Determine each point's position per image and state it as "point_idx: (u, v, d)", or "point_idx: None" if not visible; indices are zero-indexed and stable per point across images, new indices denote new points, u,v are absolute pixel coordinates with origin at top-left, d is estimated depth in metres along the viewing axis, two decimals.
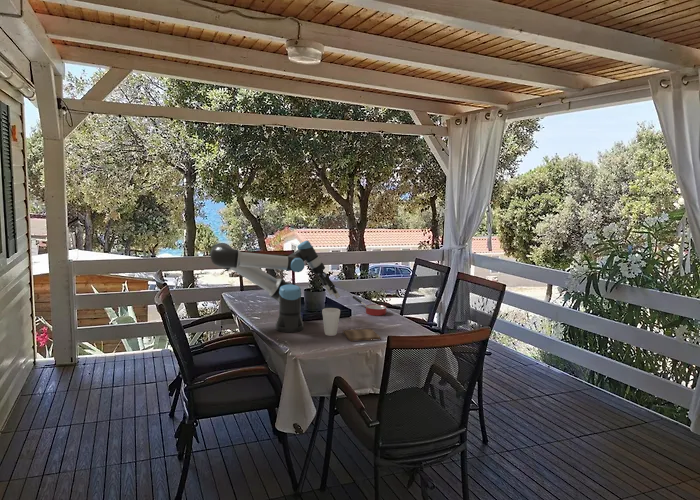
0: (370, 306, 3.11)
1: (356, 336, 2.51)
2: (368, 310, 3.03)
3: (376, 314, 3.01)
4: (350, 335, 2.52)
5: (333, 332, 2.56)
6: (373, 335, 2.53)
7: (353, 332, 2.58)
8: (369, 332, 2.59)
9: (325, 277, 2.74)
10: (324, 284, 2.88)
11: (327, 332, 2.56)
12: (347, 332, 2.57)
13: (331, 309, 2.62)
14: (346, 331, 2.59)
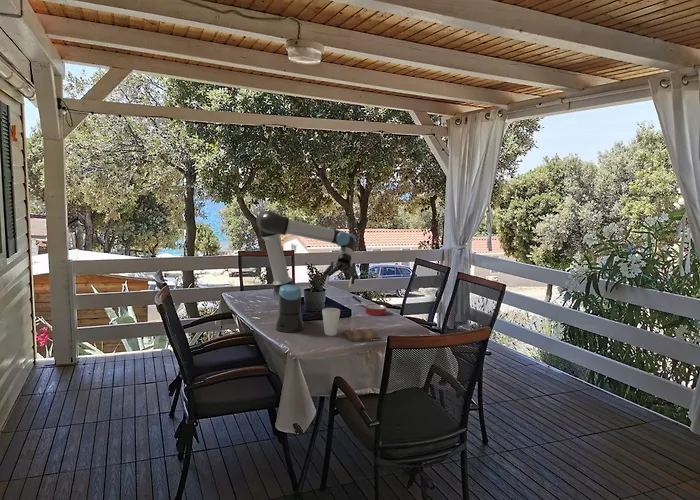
0: (370, 306, 3.12)
1: (356, 336, 2.51)
2: (368, 310, 3.03)
3: (376, 314, 3.01)
4: (350, 335, 2.52)
5: (333, 332, 2.56)
6: (373, 335, 2.53)
7: (353, 332, 2.58)
8: (369, 332, 2.59)
9: (354, 267, 2.73)
10: (328, 274, 2.72)
11: (327, 332, 2.56)
12: (347, 332, 2.57)
13: (331, 309, 2.62)
14: (346, 331, 2.59)
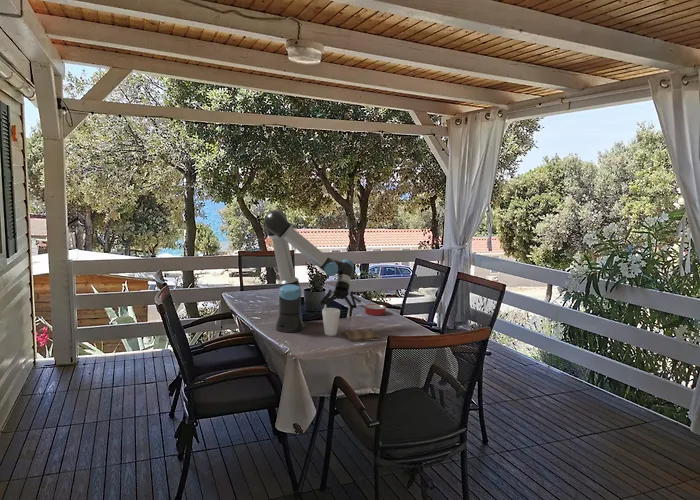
0: (369, 306, 3.12)
1: (356, 336, 2.51)
2: (368, 310, 3.03)
3: (375, 314, 3.01)
4: (350, 335, 2.52)
5: (333, 332, 2.56)
6: (373, 335, 2.53)
7: (353, 332, 2.58)
8: (369, 332, 2.59)
9: None
10: (326, 303, 2.66)
11: (327, 332, 2.56)
12: (347, 332, 2.57)
13: (331, 309, 2.62)
14: (346, 331, 2.59)
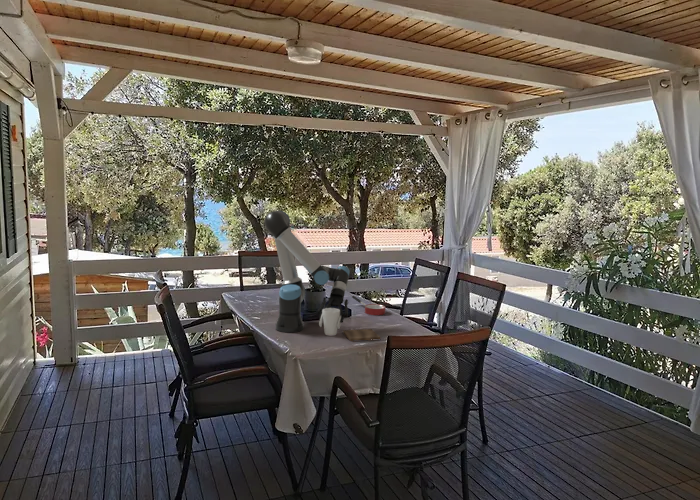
0: (369, 306, 3.12)
1: (356, 336, 2.51)
2: (367, 310, 3.04)
3: (375, 314, 3.02)
4: (350, 335, 2.52)
5: (333, 332, 2.56)
6: (373, 335, 2.53)
7: (353, 332, 2.58)
8: (369, 332, 2.59)
9: (347, 304, 2.62)
10: None
11: (327, 332, 2.56)
12: (347, 332, 2.57)
13: (331, 309, 2.62)
14: (346, 331, 2.59)
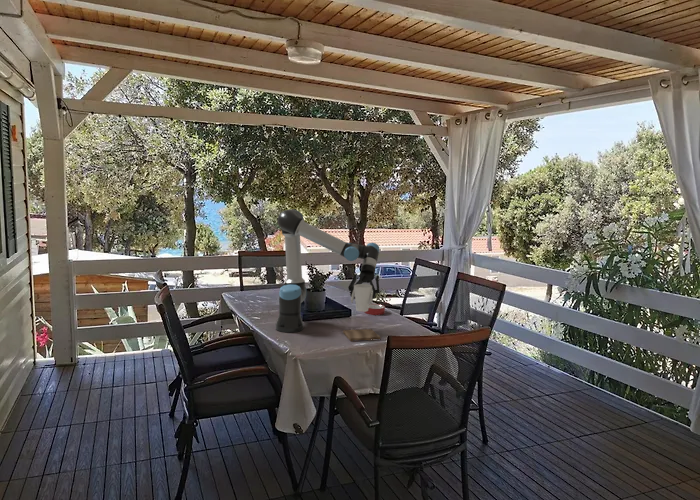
0: (369, 305, 3.13)
1: (356, 336, 2.51)
2: None
3: (374, 313, 3.02)
4: (350, 335, 2.52)
5: (365, 308, 2.52)
6: (373, 335, 2.53)
7: (353, 332, 2.58)
8: (369, 332, 2.59)
9: (378, 280, 2.58)
10: None
11: (359, 308, 2.52)
12: (347, 332, 2.57)
13: (362, 285, 2.57)
14: (346, 331, 2.59)
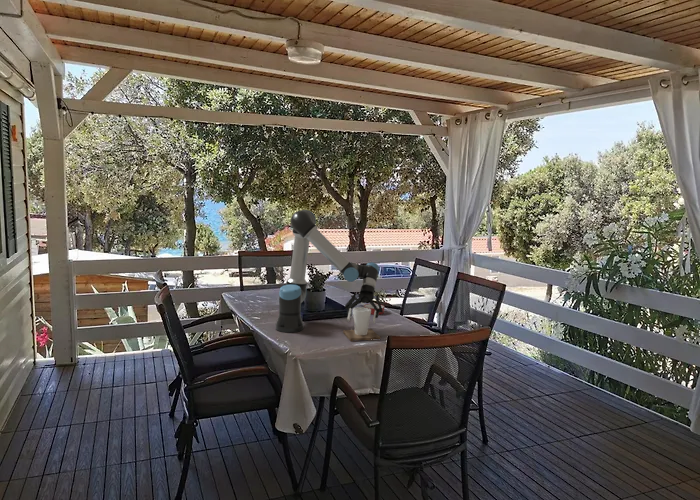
0: (368, 305, 3.14)
1: (356, 336, 2.51)
2: None
3: None
4: (350, 335, 2.52)
5: (364, 332, 2.53)
6: (373, 335, 2.53)
7: (353, 332, 2.58)
8: (369, 332, 2.59)
9: (378, 299, 2.60)
10: (351, 306, 2.59)
11: (358, 332, 2.53)
12: (347, 332, 2.57)
13: (361, 308, 2.59)
14: (346, 331, 2.59)
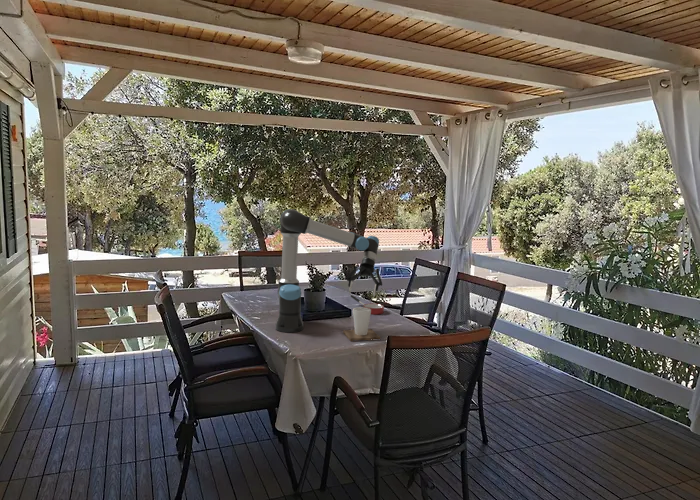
0: (368, 305, 3.14)
1: (356, 336, 2.51)
2: None
3: (373, 313, 3.03)
4: (350, 335, 2.52)
5: (364, 332, 2.53)
6: (373, 335, 2.53)
7: (353, 332, 2.58)
8: (369, 332, 2.59)
9: (378, 273, 2.73)
10: (352, 279, 2.72)
11: (358, 332, 2.53)
12: (347, 332, 2.57)
13: (361, 308, 2.59)
14: (346, 331, 2.59)
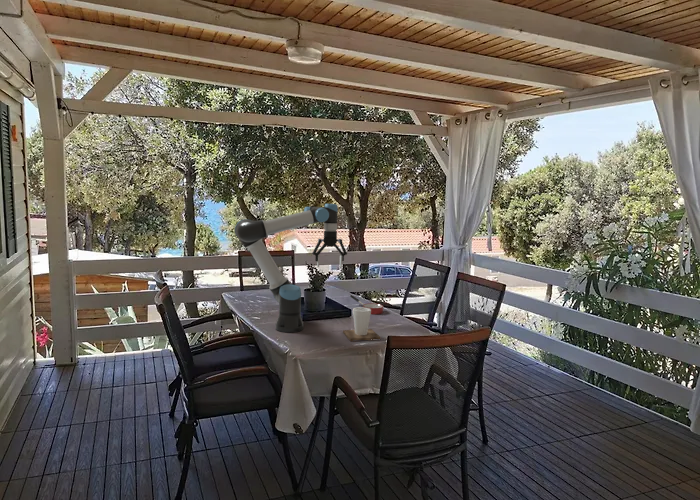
0: (367, 305, 3.14)
1: (356, 336, 2.51)
2: None
3: (373, 313, 3.04)
4: (350, 335, 2.52)
5: (364, 332, 2.53)
6: (373, 335, 2.53)
7: (353, 332, 2.58)
8: (369, 332, 2.59)
9: None
10: None
11: (358, 332, 2.53)
12: (347, 332, 2.57)
13: (361, 308, 2.59)
14: (346, 331, 2.59)
